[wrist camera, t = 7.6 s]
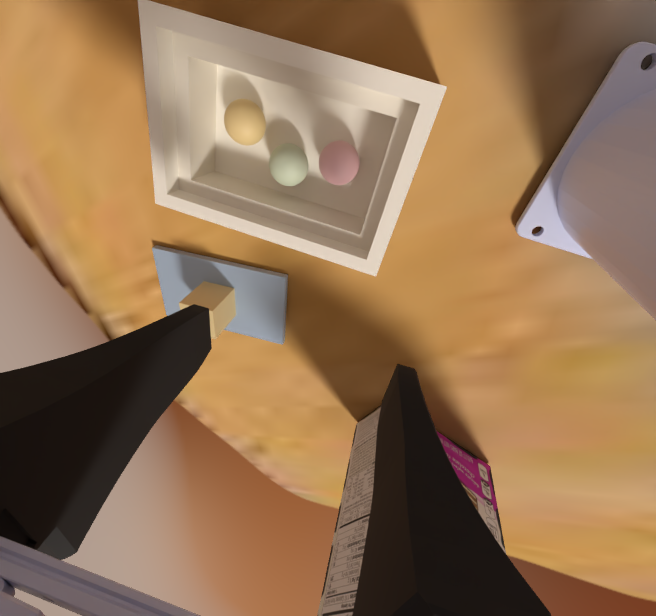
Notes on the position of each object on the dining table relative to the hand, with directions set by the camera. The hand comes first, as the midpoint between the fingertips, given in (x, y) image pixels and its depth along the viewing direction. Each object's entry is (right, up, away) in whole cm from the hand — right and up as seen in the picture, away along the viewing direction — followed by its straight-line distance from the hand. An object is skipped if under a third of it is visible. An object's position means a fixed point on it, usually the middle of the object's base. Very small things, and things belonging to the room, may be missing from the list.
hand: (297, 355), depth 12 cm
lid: (-7, +3, +13) cm, 15 cm away
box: (0, +11, +5) cm, 12 cm away
